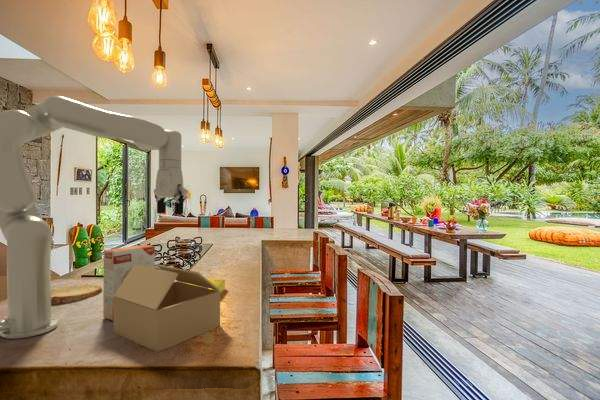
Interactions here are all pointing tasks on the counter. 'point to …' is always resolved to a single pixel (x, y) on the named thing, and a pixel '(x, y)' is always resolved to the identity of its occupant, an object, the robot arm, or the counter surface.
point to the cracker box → (122, 270)
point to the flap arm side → (146, 286)
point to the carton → (168, 317)
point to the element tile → (217, 284)
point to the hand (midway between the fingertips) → (169, 213)
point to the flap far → (189, 277)
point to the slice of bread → (74, 293)
